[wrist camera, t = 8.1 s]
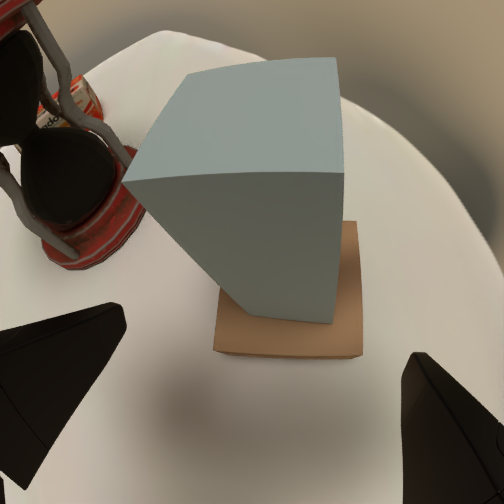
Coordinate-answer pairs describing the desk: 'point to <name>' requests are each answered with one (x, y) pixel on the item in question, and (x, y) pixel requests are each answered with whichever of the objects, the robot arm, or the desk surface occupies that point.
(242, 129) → the slate post
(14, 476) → the robot arm
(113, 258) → the desk surface
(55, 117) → the medicine box
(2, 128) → the hourglass
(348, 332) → the walnut block
